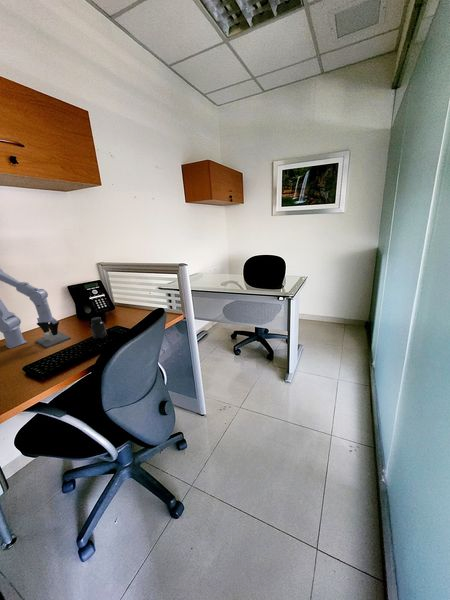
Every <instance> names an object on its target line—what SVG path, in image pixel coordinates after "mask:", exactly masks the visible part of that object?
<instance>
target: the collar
mask: <svg viewBox="0 0 450 600" xmlns="http://www.w3.org/2000/svg"><path fill="white" fill-rule="evenodd" d="M50 332H51V330H49V332H46V333H44V332H43V337H45V339H46V340H48V341H53V340H55V339H57V338H59V337H60V335H59V332H60V331H58V334H57V335H53V334H52V333H50Z"/></svg>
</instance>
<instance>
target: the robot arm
mask: <svg viewBox="0 0 450 600" xmlns="http://www.w3.org/2000/svg"><path fill="white" fill-rule="evenodd" d="M0 282H3V283H5V284H7V285H9V286H11V287H14V288H15V291H17V292H18V293H20V294H22V295H24V296H26V297H29V300H30V301H31V302H32V303H33V305H34V306H35V310H36V312H37V315H38V317H37V318H36V319H37V323H36V325H37V326H38V327H39V328H40V329H41V330H42V332H43V334H44V333H46V332H49V331H51V332H52V334H53V335H57V334H58V332H59V329H58V328H59V324H60V322H59V321H57V319H55V317H54V316H53V315H52V312H51V308H50V306H49V302H48V299H47V298H48V295H49V294H48V292H47V290H45V289H44V288H38V287H35V286H33V285H31V284H30V283H29V282H27V281H20V280H18V279H16V278H15V277H13V276H11V275H10V274H8V273H6V272H4V270H3V269H2V268H0ZM21 322H22V320H21V319H20V318H19V316H17V315H16V314H15V313H14V312H11V311H9V310H8V308H7V306H6V305H5V303H4V302H3V300H2V299H1V298H0V332H1V333H2V334H3V336H4V340H5V342H6V343H4V345H5V346H6V347H7V348H9V349H14V348H15V347H18V346H21V345H23V344H24V345H25V344H28V341H27V340H26V339H24V336H23V334H22V331H21V328H20V327H21V326H20V325H21Z"/></svg>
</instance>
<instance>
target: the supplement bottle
mask: <svg viewBox="0 0 450 600" xmlns="http://www.w3.org/2000/svg"><path fill="white" fill-rule="evenodd" d="M90 322H91V324H90V330H91V333H92V337H93V339H94V338H95V339H97V338H103V337H105V336H106V335H107V334H108V333H107V329H106V324H105V322H104V321H102V318H101V317H100V316H96V317H93V318H91V320H90ZM107 336H108V335H107Z"/></svg>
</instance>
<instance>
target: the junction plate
mask: <svg viewBox="0 0 450 600" xmlns="http://www.w3.org/2000/svg"><path fill="white" fill-rule="evenodd" d="M58 332H59V335H60V337H59V338H57V339H55V340H53V341H48V340H46V339H45V336H43V337H39V338H37V339H35V342H36V343H38V344H40V345H41V346H43V347H44V348H46V349H49V348H52V347H54V346H56V345H59V344H61V343H63V342H66V341H69V340H71V336H69V335H67V334H64V333H63V332H61V331H58ZM50 333H52V332H50Z"/></svg>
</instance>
